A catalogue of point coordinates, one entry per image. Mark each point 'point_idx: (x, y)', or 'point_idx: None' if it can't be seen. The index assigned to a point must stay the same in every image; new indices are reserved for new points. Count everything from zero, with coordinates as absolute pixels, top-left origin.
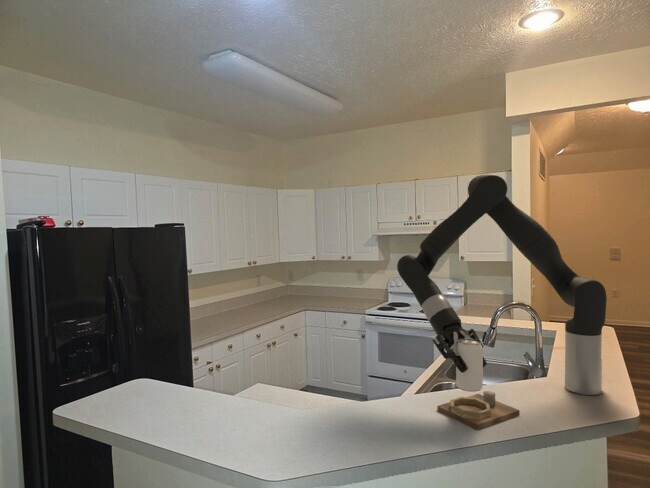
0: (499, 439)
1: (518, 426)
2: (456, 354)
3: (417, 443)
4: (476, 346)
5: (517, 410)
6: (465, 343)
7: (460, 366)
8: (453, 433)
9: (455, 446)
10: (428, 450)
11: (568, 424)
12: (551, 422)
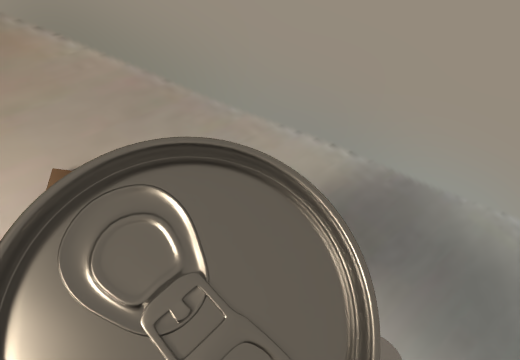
0: (285, 131)
1: (159, 134)
2: (385, 348)
3: (497, 264)
4: (246, 161)
5: (61, 171)
6: (291, 329)
7: None
8: (366, 236)
9: (417, 186)
10: (493, 219)
11: (21, 44)
12: (45, 81)
